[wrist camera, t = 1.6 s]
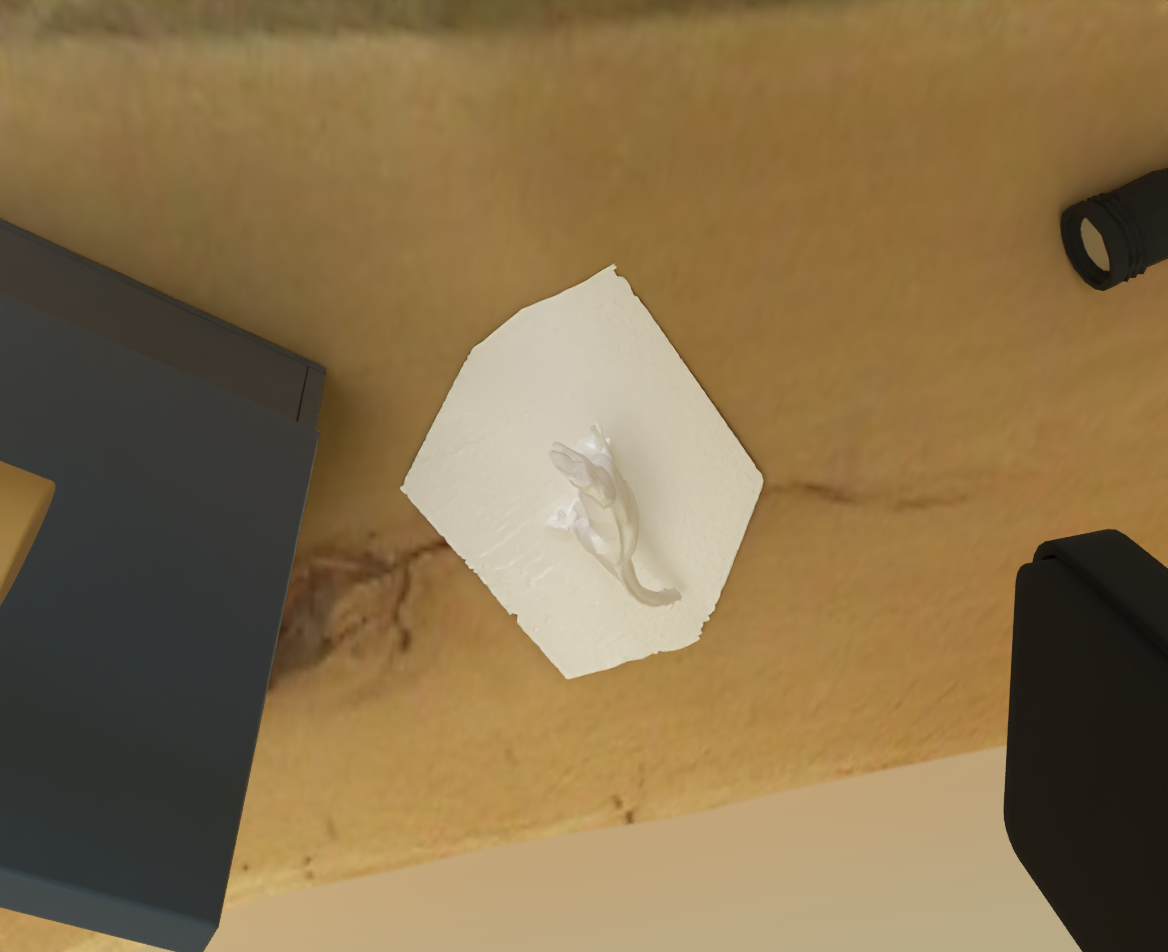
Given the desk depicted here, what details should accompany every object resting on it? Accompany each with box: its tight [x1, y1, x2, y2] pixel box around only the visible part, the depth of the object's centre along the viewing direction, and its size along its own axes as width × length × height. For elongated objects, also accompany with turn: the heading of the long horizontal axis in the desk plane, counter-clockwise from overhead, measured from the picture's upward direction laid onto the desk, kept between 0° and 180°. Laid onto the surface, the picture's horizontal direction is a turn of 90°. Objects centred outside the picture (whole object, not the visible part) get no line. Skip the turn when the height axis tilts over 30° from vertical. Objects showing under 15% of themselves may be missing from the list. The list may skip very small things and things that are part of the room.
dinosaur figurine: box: [400, 263, 764, 679], centre depth 37 cm, size 15×12×6 cm
